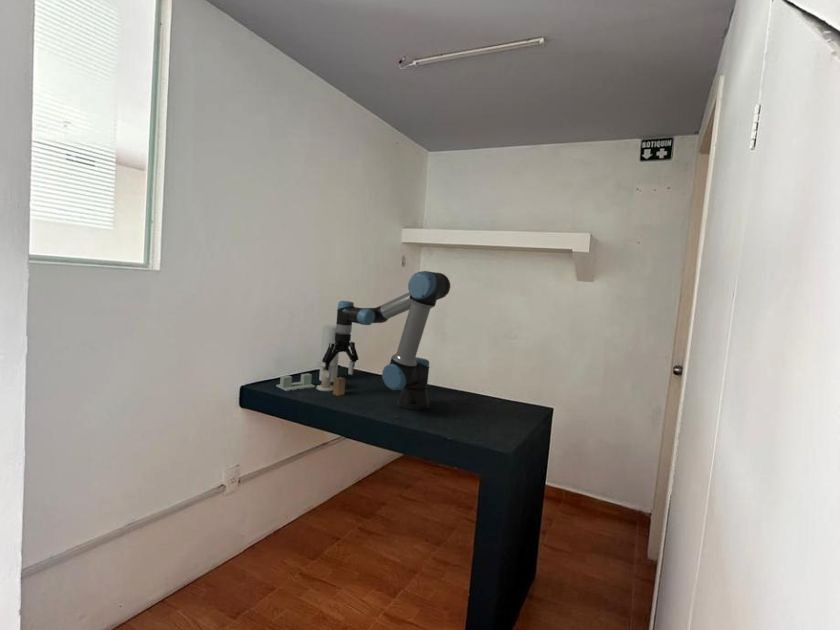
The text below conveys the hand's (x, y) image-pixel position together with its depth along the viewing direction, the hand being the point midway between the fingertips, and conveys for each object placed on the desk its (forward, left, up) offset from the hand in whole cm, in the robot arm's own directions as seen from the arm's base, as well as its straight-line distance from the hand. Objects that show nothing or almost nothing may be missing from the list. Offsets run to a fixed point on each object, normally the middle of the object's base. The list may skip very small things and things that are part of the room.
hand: (339, 375), depth 219 cm
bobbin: (+11, 0, -9) cm, 14 cm away
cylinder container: (+26, -12, -10) cm, 30 cm away
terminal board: (+21, +11, -9) cm, 25 cm away
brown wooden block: (0, 0, -9) cm, 9 cm away
